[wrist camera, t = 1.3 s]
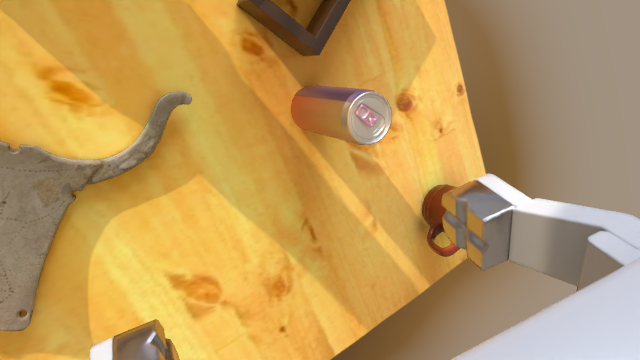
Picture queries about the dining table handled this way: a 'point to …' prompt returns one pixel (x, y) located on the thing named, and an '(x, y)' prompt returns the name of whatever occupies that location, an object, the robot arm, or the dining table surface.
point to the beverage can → (342, 113)
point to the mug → (437, 218)
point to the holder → (293, 33)
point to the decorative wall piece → (52, 205)
